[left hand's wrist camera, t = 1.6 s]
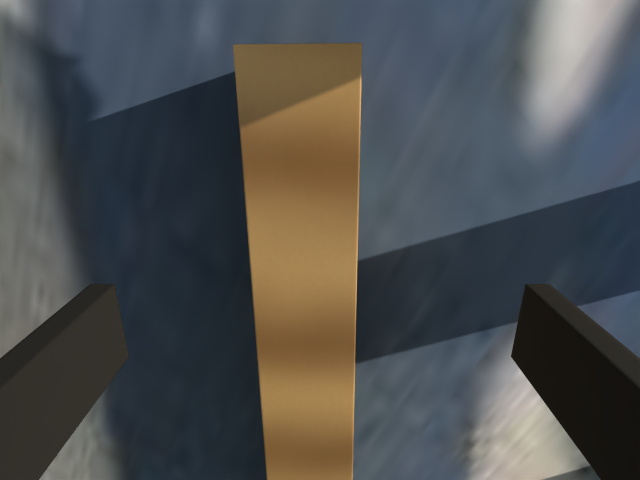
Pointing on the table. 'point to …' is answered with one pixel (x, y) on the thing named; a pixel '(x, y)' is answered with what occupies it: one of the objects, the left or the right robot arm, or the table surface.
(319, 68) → the plank
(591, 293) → the table surface
